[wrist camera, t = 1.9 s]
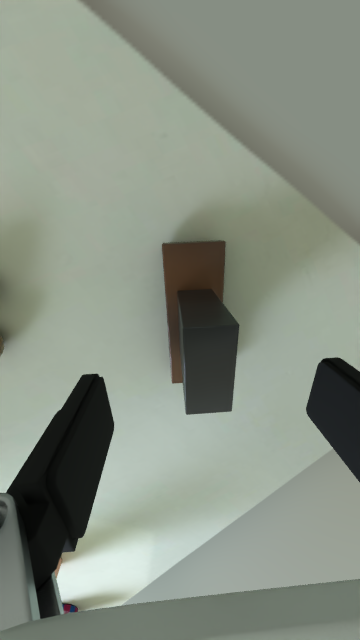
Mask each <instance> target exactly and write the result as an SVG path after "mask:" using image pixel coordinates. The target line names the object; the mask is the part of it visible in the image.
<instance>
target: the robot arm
mask: <svg viewBox="0 0 360 640" xmlns="http://www.w3.org/2000/svg"><path fill="white" fill-rule="evenodd" d="M306 411H307V414H308V416H309V418H310V419H311V420H312V421H313V423H314V424H315V425H316V427H317V428H318V429H319V430H320V432H321V433H322V434H323V436H324V437H325V438H326V439H327V441H328V442H329V443H330V445H331V446H332V447H333V448H334V450H335V451H336V452H337V454H338V455H339V456H340V457H341V459H342V460H343V461H344V463H345V464H346V465H347V466H348V468H349V469H350V470H351V472H352V473H353V474H354V475H355V477H356V478H357V479H358V481H359V482H360V372H359V371H358V370H356V369H355V368H354V367H352V366H351V365H349V364H348V363H347V362H345V361H344V360H342V359H341V358H325V359H323V360H322V361H321V362H320V363H319V364H318V367H317V370H316V374H315V378H314V381H313V385H312V389H311V392H310V396H309V400H308V403H307V407H306ZM113 431H114V421H113V417H112V412H111V408H110V404H109V400H108V395H107V391H106V387H105V383H104V379H103V377H99V375H98V374H86V375H82V376H81V378H80V380H79V381H78V383H77V384H76V386H75V388H74V389H73V391H72V393H71V394H70V396H69V397H68V399H67V401H66V402H65V404H64V406H63V407H62V409H61V410H59V411H58V412H57V413H56V414H55V416H54V417H53V419H52V421H51V422H50V424H49V425H48V427H47V428H46V430H45V432H44V433H43V435H42V436H41V438H40V440H39V441H38V443H37V444H36V446H35V447H34V449H33V451H32V452H31V454H30V455H29V457H28V459H27V460H26V462H25V463H24V465H23V467H22V468H21V470H20V471H19V473H18V474H17V476H16V478H15V479H14V481H13V482H12V484H11V486H10V487H9V489H8V490H7V492H6V493H0V640H360V579H356V580H347V581H337V582H327V583H318V584H308V585H299V586H290V587H281V588H271V589H263V590H253V591H244V592H235V593H226V594H218V595H208V596H200V597H191V598H182V599H174V600H164V601H156V602H147V603H138V604H131V605H124V606H116V607H109V608H102V609H95V610H88V611H81V612H73V613H67V614H64V610H63V606H62V601H61V597H60V593H59V589H58V584H57V580H56V576H55V570H56V569H57V566H58V563H59V560H60V557H61V554H62V553H63V552H73V551H75V548H76V545H77V542H78V538H82V537H83V536H84V534H85V531H86V528H87V524H88V521H89V517H90V514H91V510H92V507H93V503H94V499H95V496H96V492H97V489H98V485H99V481H100V478H101V474H102V471H103V467H104V464H105V460H106V456H107V453H108V449H109V446H110V442H111V438H112V435H113Z"/></svg>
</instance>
